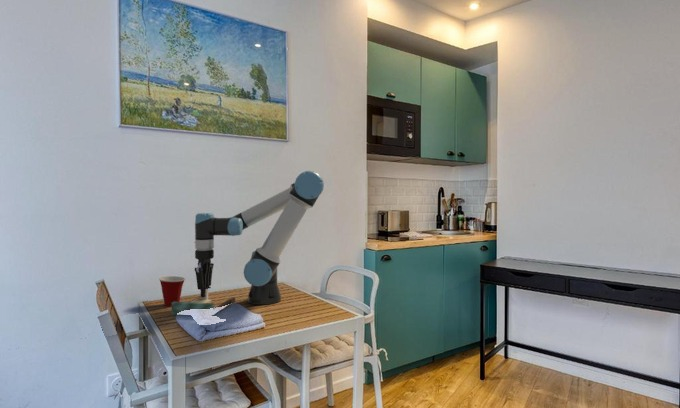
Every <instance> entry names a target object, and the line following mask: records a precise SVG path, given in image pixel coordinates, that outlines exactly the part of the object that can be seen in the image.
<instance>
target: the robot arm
mask: <svg viewBox="0 0 680 408" xmlns="http://www.w3.org/2000/svg"><path fill="white" fill-rule="evenodd" d="M324 185H325V184H324V179H323V177H322V176H321V175H320V174H319V173H318V172H315V171H312V170H305V171H302V172H301V173H300V174H299V175H298V176H297V177H296V178H295V181H294V182H293V183H291V184H290V185H289V186H290V187H288V188H285V189H284V190H282V191H281V192H278V193H277V194H274V195H273V196H271V197H269V198H267V199H265V200H263V201H261V202H260V203H257V204H255V205H253V206H251V207H249V208H248V209H246V210H243V211H241V212H239V213H237V214H236V215H234V216H231V217H215V215H214V213H212V212H201V213H200V212H198V213H197V214H196V215H195V222H194V233H195V235H194V237H195V238H194V239H195V241H194V247H195V251H194V253H195V254H194V259H196V260H197V267H194V272H195V278H196V285H197V286H196V287H197V289H198V290H199V291H200V296H201V299H209V289H211V285H212V277H213V270H214V263H213V262H212V260H211V259H213V258H214V256H215V255H214V254H215V252H214V247H215V241H214V240H215V236H231V237H235V236H236V237H237V236H241V235H242V233H243V230H245V229H248V228H249V227H252V226H253V225H256V224H257V223H259V222H261V221H264V220H265V219H267V218H269V217H271V216H273V215H274V214H277V213H279V212H281V211H282V212H281V214H280V215H279V217H278V219H277V220H276V222H275V224H274V225H273V227H272V229H271V231H270V233H268V236H267V238H266V239H265V241H264V242H263V244H262V245H261V246H260V247H257V248H256V249H255V250H254V251H252V252H251V256H250V257H251V258H250V259H249V261H247V262H246V264H245V265H244V268H243V277H244V279H245V280H246V282H247V283H248V284H250V285H251V286H250V289H249V292H248V295H247V302H248V303H250V304H253V305H273V304H277V303H279V302H280V301H282V293H281V292H280V288H279V285H278V267H279V265H280V264H281V260H280V259H281V258H280V256H281V255H282V253H283V251H284V249H285V248H286V247H287V244H288V242H289V241H290V239H291V238H292V236H293V234H294V232H295V231H296V229H297V227H298V226H299V224H300V223H301V220H302V219H303V218H304V215H305V214H306V212H307V211H308V209H312V208H313V207H314V205H315V204H316V202H317V200H318V199H319V197H320V195H321V194H322V193H323V191H324Z"/></svg>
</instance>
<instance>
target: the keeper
mask: <svg viewBox="0 0 680 408" xmlns="http://www.w3.org/2000/svg"><path fill="white" fill-rule="evenodd" d="M194 299H195V298H194ZM192 300H193V299H192ZM190 301H191V300H190ZM212 301H213V300H212V299H211V298H210V299H209V298H208V299H195V300H193V301H191V302H195V303H213V302H212Z"/></svg>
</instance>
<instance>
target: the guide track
mask: <svg viewBox="0 0 680 408" xmlns="http://www.w3.org/2000/svg"><path fill="white" fill-rule="evenodd" d="M195 299H201V295H199V296H197V297H195V298H194V299H192V300H189V301H179V302H172V306H171V316H177V313H179V312H181V311H184V310H190V309H210V308H216V307H222V306H225V305H228V304H231V303H233V304H234V303H236V297H234V296H232V297H230V298H229V299H227V300H225V301H224V302H222V303H220V304H218V305H217V306H216V307H215V303H214V302H212V303H195V302H191V301H193V300H195ZM231 305H232V304H231Z"/></svg>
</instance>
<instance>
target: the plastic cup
mask: <svg viewBox="0 0 680 408" xmlns="http://www.w3.org/2000/svg"><path fill="white" fill-rule="evenodd" d="M158 279H159V281H160V286H161V292H162V297H163V303H164V306H166V307H172V302H181V301H180V300H181V295H182V290H183V286H184V283H185V280H186V277H183V276H175V275H174V276H173V275H172V276H171V275H169V276H167V275H166V276H161V277H159V278H158Z"/></svg>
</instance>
